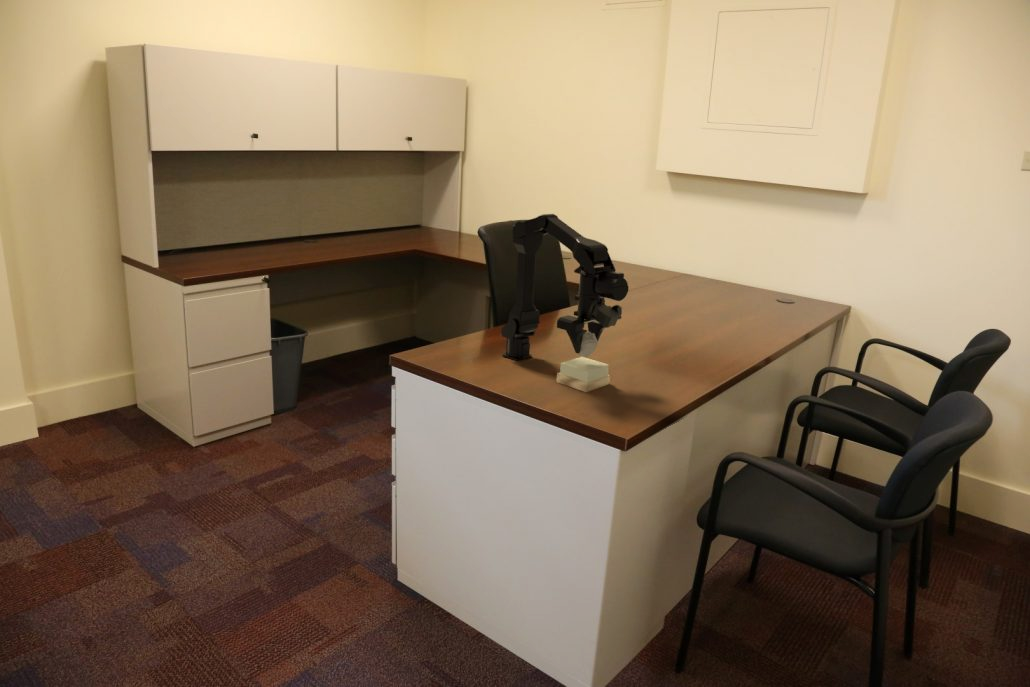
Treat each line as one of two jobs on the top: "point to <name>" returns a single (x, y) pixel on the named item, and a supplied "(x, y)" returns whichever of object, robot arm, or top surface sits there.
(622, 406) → the top surface
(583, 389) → the lower block
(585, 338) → the frog figurine
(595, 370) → the upper block
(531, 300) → the robot arm
